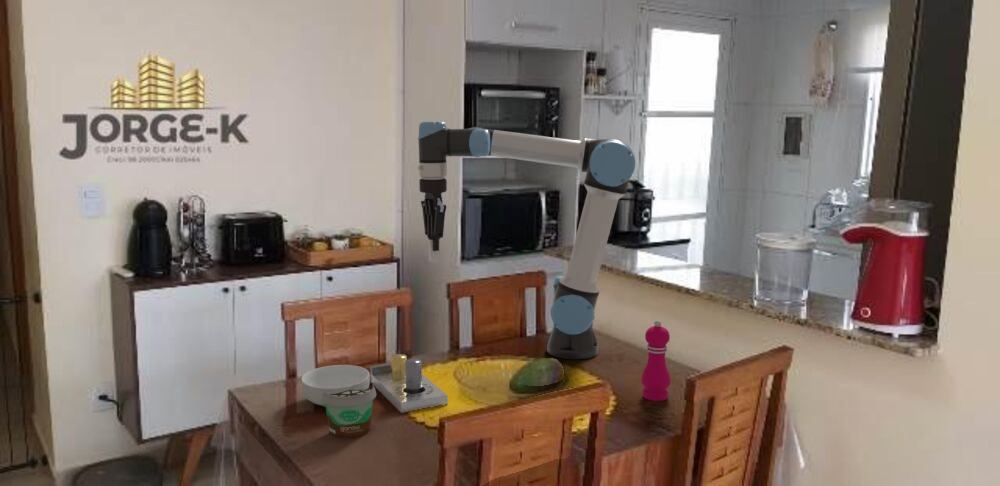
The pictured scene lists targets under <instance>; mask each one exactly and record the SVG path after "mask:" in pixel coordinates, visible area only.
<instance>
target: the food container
mask: <svg viewBox="0 0 1000 486" xmlns="http://www.w3.org/2000/svg"><path fill="white" fill-rule="evenodd" d="M376 397H377V391H376V387H375V386H374V385H373V384H372V386H371V387H369V388H368V389H364V390H347V391H343V392H340V393H336V394H327V393H325V392H324V394H323V395H322V401H323V402H324V403H325V406H326V407H325V410H326V418H327V425H328V431H329V434H330V435H331V436H333V437H335V438H339V439H357V438H361V437H363V436H365V435H367V434H369V433H370V432H371V430H372V421H373V406H374V404H373V403H374V399H375V398H376Z"/></svg>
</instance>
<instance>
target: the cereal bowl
mask: <svg viewBox="0 0 1000 486" xmlns="http://www.w3.org/2000/svg"><path fill="white" fill-rule="evenodd" d="M300 384H301V389H302V394H303V395H304V396H305V398H306V399H307V400H308V401H310V402H311V403H313V404H315V405H318V406H322V407H324V408H326V406H325V403H324V402H323V401H322V395H323V394H324V392H325V393H327V394H336V393H340V392H343V391H347V390H364V389H369V388H370V384H371V375H370V372H369V370H367V368H364V367H362V366H358V365H352V364H333V365H326V366H321V367H317V368H314V369H311V370H309V371H307V372H305V373H304V374H303V375H302V376H301V378H300Z"/></svg>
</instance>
